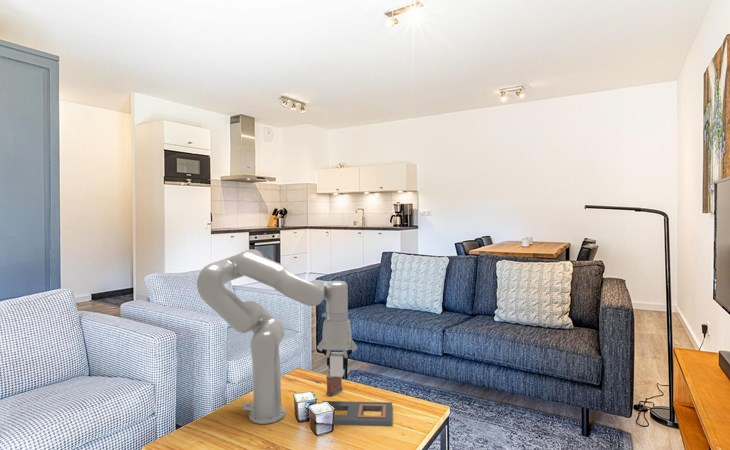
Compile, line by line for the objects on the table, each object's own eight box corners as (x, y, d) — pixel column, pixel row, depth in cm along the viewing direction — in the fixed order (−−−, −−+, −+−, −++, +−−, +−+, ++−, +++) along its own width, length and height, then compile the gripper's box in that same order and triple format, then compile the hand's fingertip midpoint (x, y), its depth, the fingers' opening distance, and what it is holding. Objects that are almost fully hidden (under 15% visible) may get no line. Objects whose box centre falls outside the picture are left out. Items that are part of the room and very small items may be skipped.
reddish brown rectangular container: (337, 387, 170) (337, 363, 169) (344, 389, 168) (343, 365, 167) (324, 395, 163) (324, 369, 163) (331, 397, 161) (330, 371, 161)
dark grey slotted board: (315, 424, 141) (315, 419, 141) (322, 404, 155) (322, 400, 155) (392, 425, 139) (392, 420, 139) (392, 406, 153) (392, 401, 153)
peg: (330, 376, 145) (329, 356, 145) (331, 371, 149) (331, 352, 149) (342, 376, 144) (342, 356, 144) (344, 371, 149) (344, 352, 149)
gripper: (311, 318, 143) (311, 371, 144) (360, 319, 142) (360, 372, 142) (315, 313, 151) (315, 363, 151) (361, 314, 149) (361, 364, 150)
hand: (337, 367), depth 147 cm, fingers closed on peg, 4 cm apart
